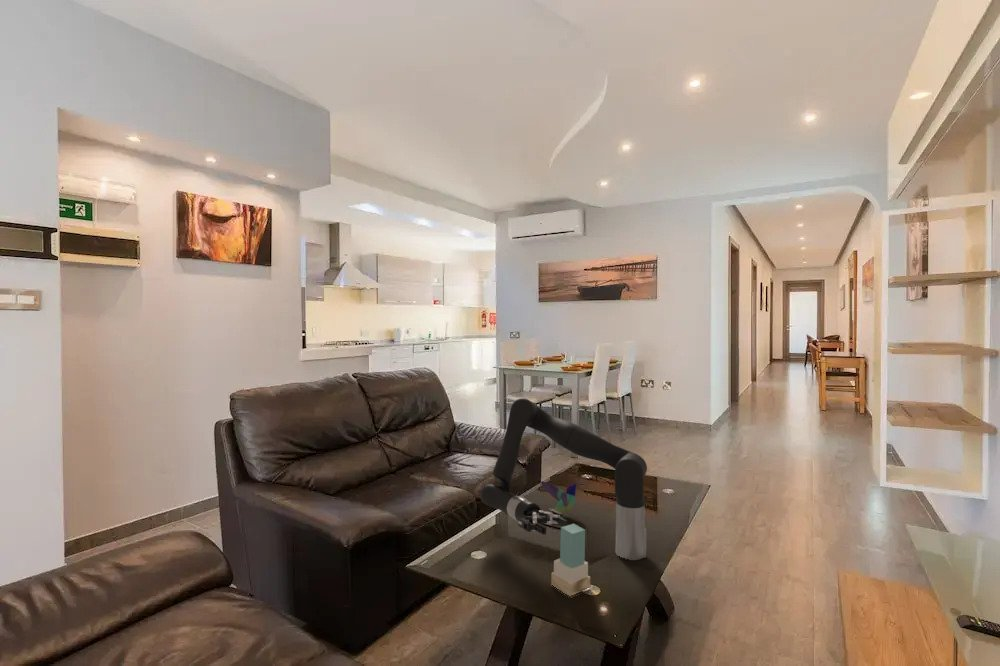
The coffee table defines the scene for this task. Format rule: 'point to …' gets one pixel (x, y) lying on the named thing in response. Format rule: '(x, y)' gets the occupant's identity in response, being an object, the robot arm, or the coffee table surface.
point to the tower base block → (570, 585)
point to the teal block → (572, 545)
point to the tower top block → (570, 571)
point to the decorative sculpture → (562, 496)
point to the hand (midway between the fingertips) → (556, 527)
